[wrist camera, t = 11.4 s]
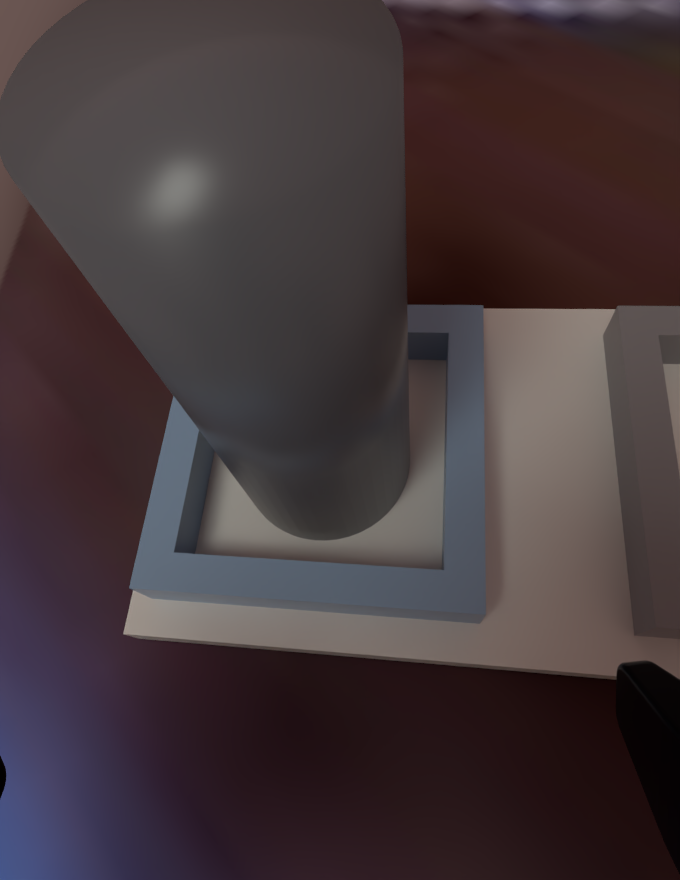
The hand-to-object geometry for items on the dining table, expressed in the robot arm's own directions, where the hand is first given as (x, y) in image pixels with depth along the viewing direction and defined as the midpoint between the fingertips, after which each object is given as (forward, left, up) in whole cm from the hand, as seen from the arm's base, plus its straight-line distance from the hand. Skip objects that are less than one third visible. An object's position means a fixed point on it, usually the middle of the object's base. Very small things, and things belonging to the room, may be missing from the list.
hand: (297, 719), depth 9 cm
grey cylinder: (+5, +5, -7) cm, 10 cm away
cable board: (+9, 0, -8) cm, 12 cm away
